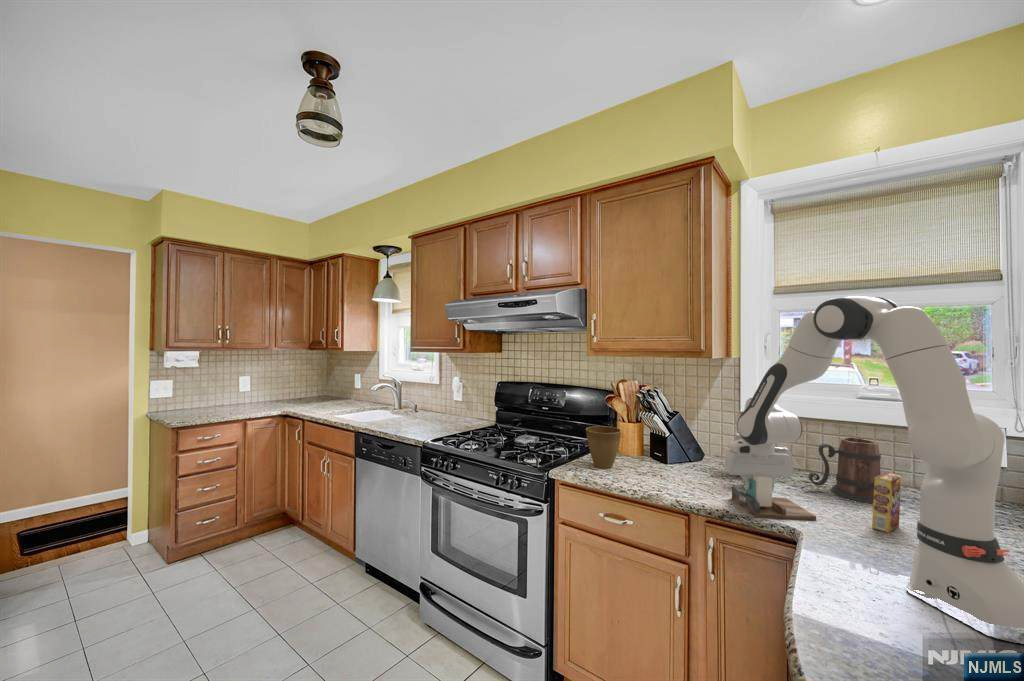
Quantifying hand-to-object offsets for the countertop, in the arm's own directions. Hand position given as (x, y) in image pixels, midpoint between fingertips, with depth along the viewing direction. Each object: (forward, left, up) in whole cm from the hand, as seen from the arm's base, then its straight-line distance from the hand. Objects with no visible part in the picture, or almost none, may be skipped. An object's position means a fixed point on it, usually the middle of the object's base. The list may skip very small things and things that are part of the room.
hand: (757, 489), depth 139 cm
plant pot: (+42, +44, -6) cm, 61 cm away
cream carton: (0, 0, -4) cm, 4 cm away
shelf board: (0, -4, -6) cm, 8 cm away
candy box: (-11, -31, -6) cm, 34 cm away
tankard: (+18, -40, -6) cm, 45 cm away
